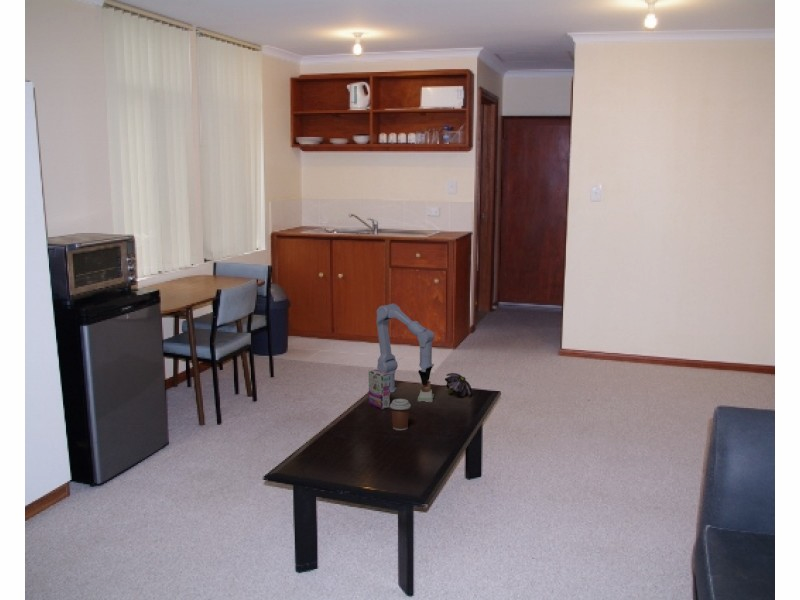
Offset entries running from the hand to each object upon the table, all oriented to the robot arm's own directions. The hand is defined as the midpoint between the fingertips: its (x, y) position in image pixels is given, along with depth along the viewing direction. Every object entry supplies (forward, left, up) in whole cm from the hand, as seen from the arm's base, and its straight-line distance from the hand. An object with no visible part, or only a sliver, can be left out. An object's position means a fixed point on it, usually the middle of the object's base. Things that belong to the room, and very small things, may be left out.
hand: (425, 382), depth 349 cm
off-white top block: (0, -1, -6) cm, 7 cm away
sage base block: (0, -1, -9) cm, 9 cm away
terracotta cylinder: (0, -1, -4) cm, 4 cm away
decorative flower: (+15, +9, -9) cm, 19 cm away
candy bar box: (-20, -14, -9) cm, 26 cm away
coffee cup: (-5, -42, -9) cm, 43 cm away
